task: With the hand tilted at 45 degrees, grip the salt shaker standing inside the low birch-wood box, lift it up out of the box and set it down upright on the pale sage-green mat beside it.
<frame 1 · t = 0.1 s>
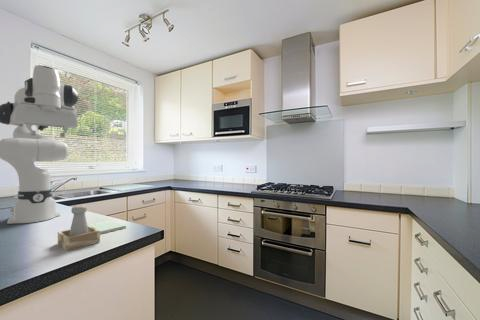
hand: (48, 136, 91), 39 cm above the countertop, tool pointing down, fingers open, 8 cm apart
sage mat: (103, 228, 92), on the countertop
salt shaker: (78, 243, 76), resting in wooden box
wooden box: (78, 242, 76), on the countertop
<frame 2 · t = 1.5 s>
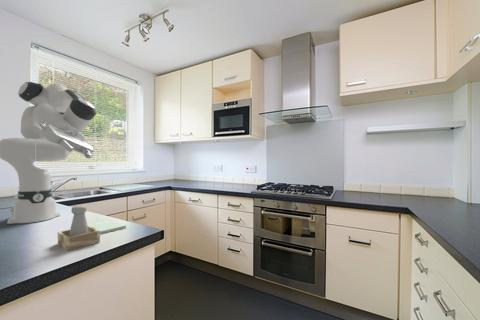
hand: (80, 153, 86), 31 cm above the countertop, tool tilted 50°, fingers open, 8 cm apart
nothing on the countertop moved.
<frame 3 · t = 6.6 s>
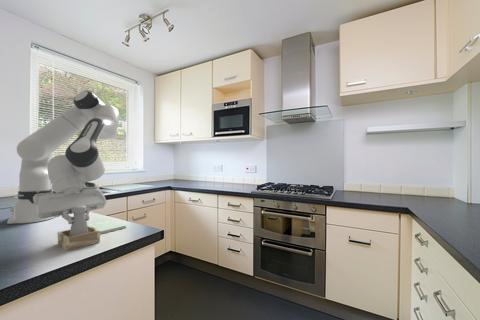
hand: (79, 221, 76), 8 cm above the countertop, tool tilted 45°, fingers closed on salt shaker, 3 cm apart
salt shaker: (78, 243, 76), resting in wooden box, touching gripper
when the fingers open (10 cm above the countertop, at t = 12.3 s): salt shaker moves 2 cm, resting on sage mat.
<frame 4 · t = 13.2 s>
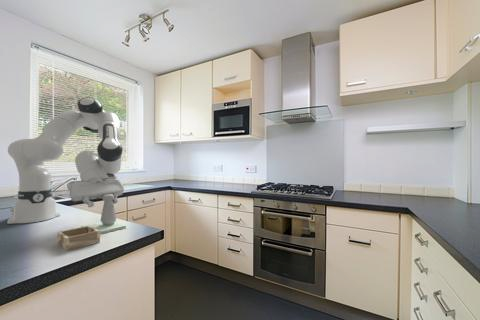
hand: (104, 204, 92), 10 cm above the countertop, tool tilted 45°, fingers open, 8 cm apart
salt shaker: (108, 224, 94), point 1 cm above the countertop, touching gripper, sage mat
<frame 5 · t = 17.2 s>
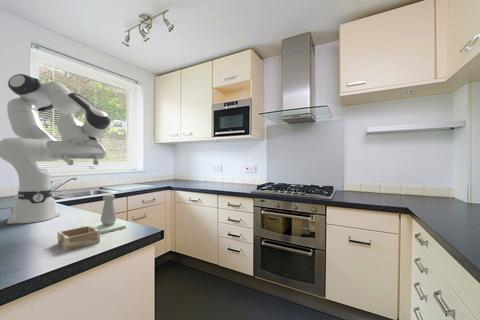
hand: (84, 163, 93), 27 cm above the countertop, tool tilted 45°, fingers open, 8 cm apart
salt shaker: (108, 224, 94), point 1 cm above the countertop, touching sage mat
at the end: salt shaker inside the target area on the sage mat (2.0 cm from its centre), point 0.8 cm above the sage mat's base; salt shaker tilted 0°; the gripper is holding nothing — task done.
